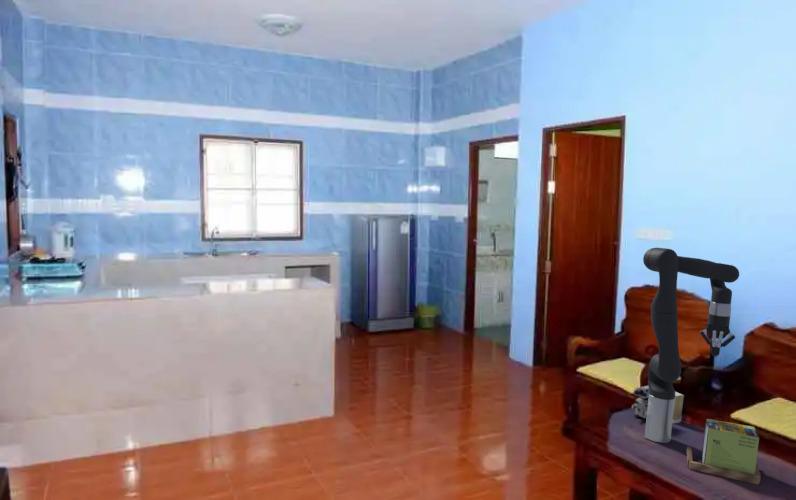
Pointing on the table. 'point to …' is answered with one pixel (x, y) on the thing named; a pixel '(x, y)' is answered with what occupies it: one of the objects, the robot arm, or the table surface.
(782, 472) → the table surface
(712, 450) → the protein box
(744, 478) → the display bay
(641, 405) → the figurine
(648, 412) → the robot arm
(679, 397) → the skincare box
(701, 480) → the table surface
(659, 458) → the table surface
